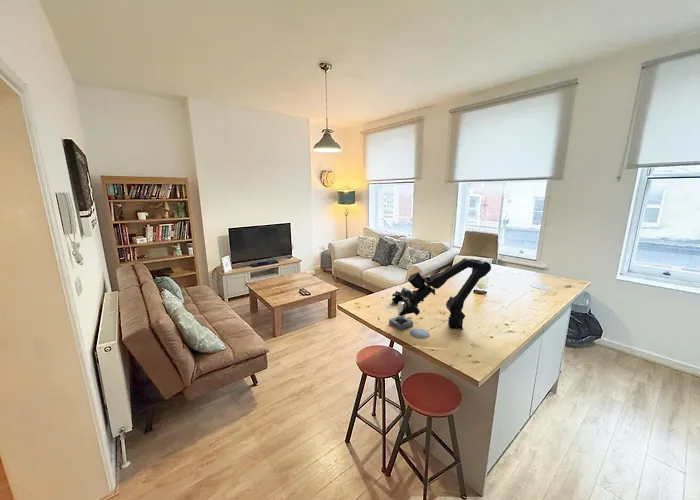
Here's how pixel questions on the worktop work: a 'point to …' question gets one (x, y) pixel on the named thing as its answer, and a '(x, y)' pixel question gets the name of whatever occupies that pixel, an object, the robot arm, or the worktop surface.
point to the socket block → (398, 325)
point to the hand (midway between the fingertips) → (398, 313)
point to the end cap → (397, 297)
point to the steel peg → (400, 307)
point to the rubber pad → (419, 333)
